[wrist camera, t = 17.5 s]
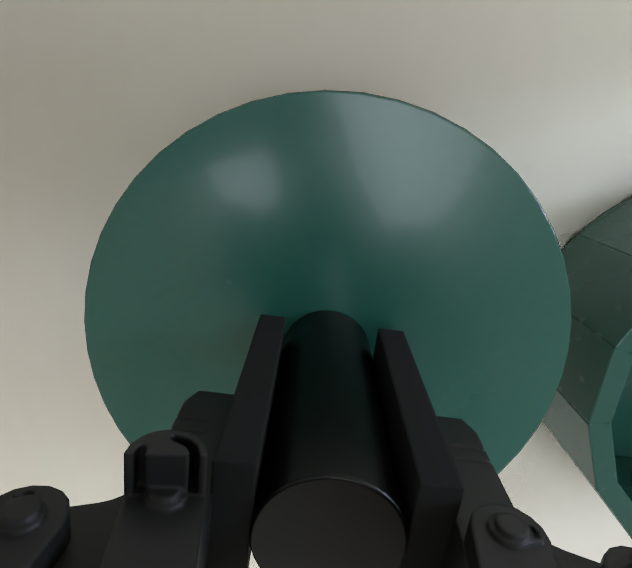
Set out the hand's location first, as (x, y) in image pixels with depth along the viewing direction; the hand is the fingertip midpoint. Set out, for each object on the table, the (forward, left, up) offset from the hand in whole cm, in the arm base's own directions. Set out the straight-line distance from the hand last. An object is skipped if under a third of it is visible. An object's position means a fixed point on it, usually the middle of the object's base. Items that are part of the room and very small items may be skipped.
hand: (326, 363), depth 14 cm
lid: (0, 0, -2) cm, 2 cm away
